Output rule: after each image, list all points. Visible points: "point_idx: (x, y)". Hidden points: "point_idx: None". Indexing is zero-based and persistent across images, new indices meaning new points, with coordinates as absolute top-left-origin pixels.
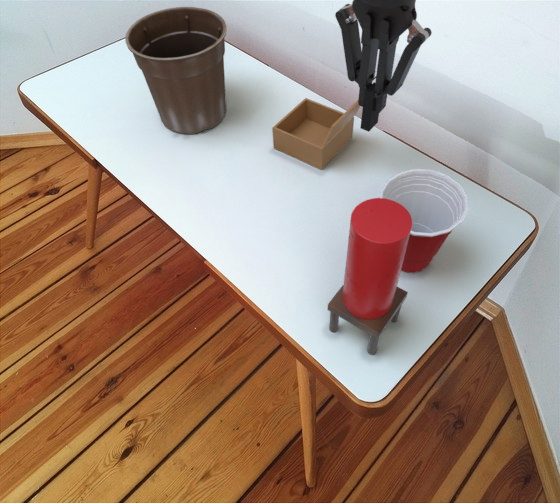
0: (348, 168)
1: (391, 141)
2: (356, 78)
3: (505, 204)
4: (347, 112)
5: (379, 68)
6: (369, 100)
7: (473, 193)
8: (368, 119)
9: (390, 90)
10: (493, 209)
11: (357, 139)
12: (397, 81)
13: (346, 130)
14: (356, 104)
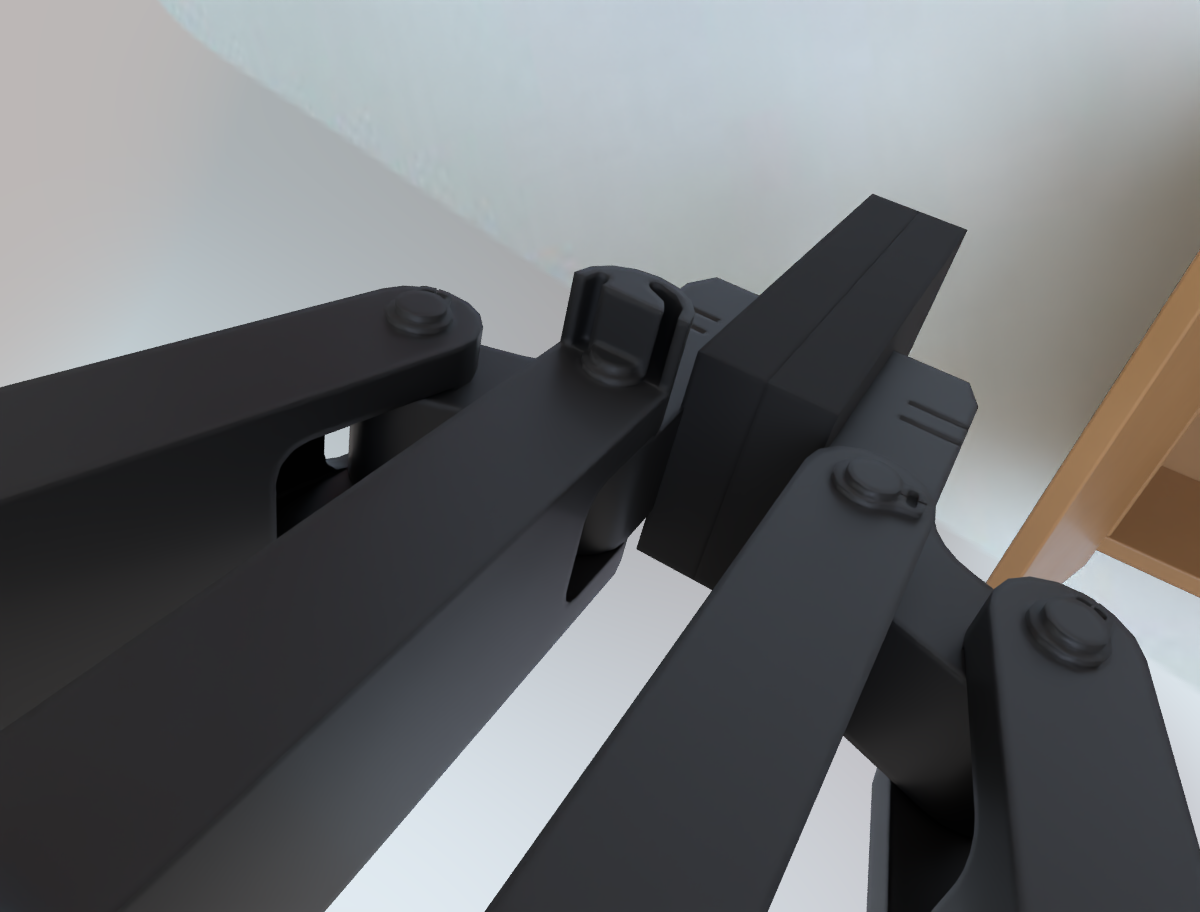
0: (1102, 103)
1: None
2: (975, 626)
3: (239, 60)
4: (1132, 370)
5: (393, 582)
6: (785, 329)
7: (360, 94)
8: (852, 240)
9: (398, 314)
10: (264, 3)
11: (1053, 434)
12: (199, 355)
13: None
14: (1033, 514)
